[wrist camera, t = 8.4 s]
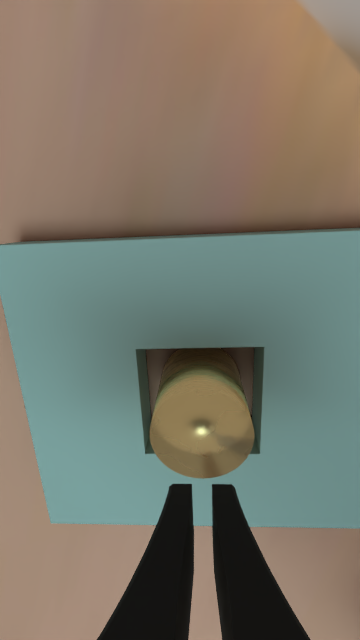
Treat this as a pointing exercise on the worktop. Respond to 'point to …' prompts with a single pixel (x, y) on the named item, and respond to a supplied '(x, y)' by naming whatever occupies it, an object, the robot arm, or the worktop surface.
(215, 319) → the jig
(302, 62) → the worktop surface
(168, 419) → the peg
